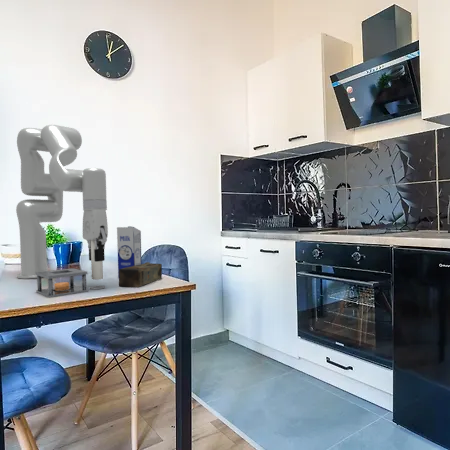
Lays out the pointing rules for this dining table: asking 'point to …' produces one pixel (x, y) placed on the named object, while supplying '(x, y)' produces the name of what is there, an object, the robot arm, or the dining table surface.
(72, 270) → the guard frame
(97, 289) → the mat
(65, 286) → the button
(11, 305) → the dining table surface
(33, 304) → the dining table surface
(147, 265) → the dark brown box
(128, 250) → the milk carton
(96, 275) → the white tall block
